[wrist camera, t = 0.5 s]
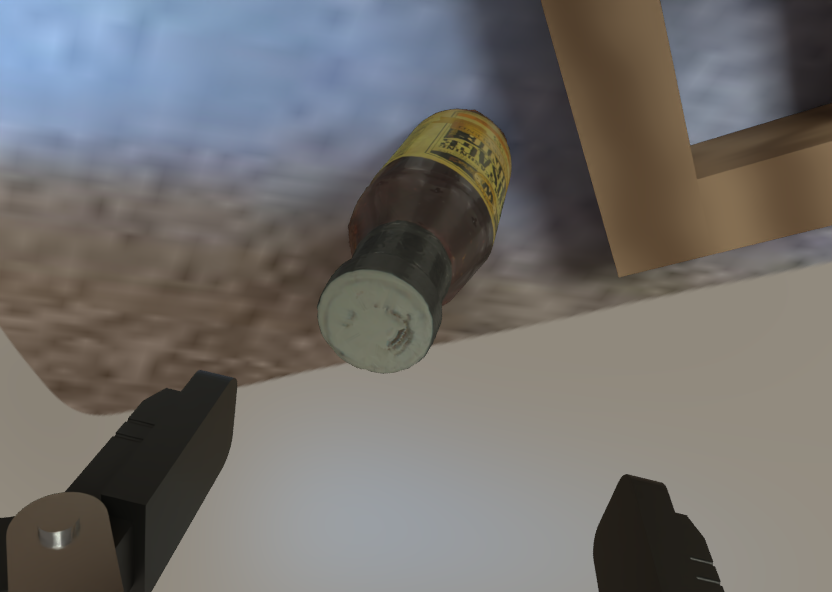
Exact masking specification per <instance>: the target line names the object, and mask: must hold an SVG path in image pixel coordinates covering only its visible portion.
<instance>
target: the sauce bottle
mask: <svg viewBox="0 0 832 592" xmlns="http://www.w3.org/2000/svg"><path fill="white" fill-rule="evenodd" d="M510 176H511V156H510V151H509V147H508V145H507V140H506V138H505V135H504V133H502V131H501V130H500V129H499V128H498V127H497V126H496V125H495V124H494V123H493V121H491V120H490V119H488V118H487V117H485V116H484V115H483V114H482V113H480V112H478V111H476V110H467V109H450V110H445V111H441V112H438V113H435V114H433V115H432V116H430V117H428V118H427V119H425V120H424V121H422V122H421V123H420V124H419V125H418V126H417V127H416V128H415V129H414V130H413V132H412V133H411V134H410V135H409V136H408V138H407V139H406V140H405V141H404V143H403V144H402V145H401V146H400V148H399V149H398V150H397V151H396V152H395V154H394V155H393V156H392V157H391V158H390V159H389V160H388V162H387V163H386V164H385V165H384V166H383V167H382V169H381V170H380V171H379V172H378V173H377V174H376V176H375V177H374V178H373V180H372V182H371V183H370V185H369V186H368V187H367V188H366V190H365V191H364V193H363V194H362V196H361V197H360V199H359V200H358V202H357V204H356V206H355V208H354V211H353V214H352V217H351V219H350V223H349V225H348V229H349V243H350V249H351V253H352V259H350V260H348V261H347V262H345V263H344V264H342V265H341V266H340V267H339V268H338V269H337V270H336V271H335V273H334V274H333V275H332V276H331V278H330V280H329V281H328V283H327V284H326V287H325V288H324V290H323V292H322V294H321V296H320V299H319V302H318V305H317V309H318V316H317V317H318V323H319V327H320V330H321V333H322V335H323V337H324V339H325V340H326V342H327V343H328V344H329V345H330V346H331V347H332V349H333V350H334V351H335V353H336V354H337V355H338V356H339V357H340V358H341V359H343V360H344V361H346V362H347V363H349V364H351V365H352V366H354V367H357V368H360V369H366V370H368V371H371V372H376V373H383V374H384V373H394V372H398V371H400V370H404V369H408V368H410V367H411V366H412V365H414V364H416V363H417V362H419V361H420V360H421V359H422V358H423V357H425V355H426V354H427V352H428V350H429V349H430V347H431V345H432V344H433V341H434V339H435V337H436V334H437V332H438V329H439V327H440V324H441V320H442V306H443V305H445V304H447V303H448V302H450V301H451V300H452V299H453V298H454V297H455V295H456V294H457V293H458V292H459V291H460V290H461V288H462V287H463V286H464V285H465V284H466V283H467V282H468V281H469V279H470V278H471V277H472V276H473V275H474V274H475V273H476V271H477V270H478V269H479V268H480V267H481V266H482V264H483V263H484V262H485V261H486V260H487V258H488V257H489V255H490V253H491V250H492V247H493V243H494V240H495V236H496V232H497V228H498V223H499V220H500V217H501V211H502V208H503V204H504V200H505V196H506V192H507V188H508V185H509V181H510Z"/></svg>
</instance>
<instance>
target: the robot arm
mask: <svg viewBox="0 0 832 592" xmlns="http://www.w3.org/2000/svg"><path fill="white" fill-rule="evenodd" d="M236 393H237V380H236V379H235V378H231V377H227V376H223V375H219V374H215V373H211V372H207V371H202V370H199V371H197V372H196V373H195V375H194V376H193V377H192V378H191V380H190V381H189V382H188V383H187V385H186V386H185V387H184V389H183V390H182V391H177V390H172V389H168V388H165V389H164V390H162V391H160V392H158V393H156V394H155V395H153V396H151V397H149V398H147V399H146V400H144V401H143V402H142V403H141V404H140V405H139V406H138V407H137V409H136V410H135V411H134V412H133V413H132V414H131V416H130V417H129V418H128V421H127V422H125V423H124V424H123V425H122V426H121V427H120V428H119V430H118V431H117V432H116V435H115V437H112V438H111V439H110V440H109V441H108V443H107V444H106V445H105V446H104V447H103V448H102V449H101V451H100V452H99V453H98V454H97V455H96V456H95V458H94V459H93V460H92V461H91V462H90V463H89V465H88V466H87V467H86V468H85V469H84V470H83V471H82V473H81V474H80V475H79V476H78V477H77V479H76V480H75V481H74V482H73V483H72V484H71V485H70V487H69V488H68V489H67V490H66V491H65V492H62V493H56V494H52V495H48V496H45V497H43V498H40V499H38V500H36V501H34V502H32V503H30V504H29V505H27V506H26V507H24V508H23V509H22V510H21V511H20V512H18V514H16V516H14V517H6V518H0V592H151V591H152V590H153V588H154V586H155V585H156V583H157V581H158V579H159V577H160V576H161V574H162V572H163V571H164V569H165V567H166V565H167V564H168V562H169V560H170V558H171V557H172V555H173V553H174V551H175V550H176V548H177V546H178V544H179V543H180V541H181V539H182V538H183V536H184V534H185V532H186V531H187V529H188V527H189V525H190V523H191V522H192V520H193V518H194V517H195V515H196V513H197V511H198V510H199V508H200V506H201V504H202V503H203V501H204V499H205V497H206V495H207V494H208V492H209V490H210V489H211V487H212V485H213V484H214V482H215V480H216V478H217V476H218V475H219V473H220V471H221V470H222V468H223V466H224V464H225V461H226V459H227V456H228V453H229V450H230V447H231V442H232V436H233V426H234V414H235V404H236ZM593 558H594V565H595V571H596V576H597V583H598V588H599V592H724V590H723V587H722V586H720V579H719V576H718V573H717V571H716V568H715V566H713V560H712V557H711V555H710V552H709V549H708V546H707V544H706V541H705V538H704V537H703V536H702V535H701V533H700V532H699V531H698V529H697V528H696V527H695V526H694V524H693V523H692V522H691V520H690V519H689V518H688V517H687V515H683V514H679V513H675V511H674V508H673V505H672V502H671V499H670V496H669V493H668V490H667V488H666V486H665V485H664V484H663V483H661V482H657V481H653V480H649V479H645V478H641V477H636V476H632V475H628V474H626V475H623V476H622V477H621V479H620V481H619V482H618V484H617V486H616V489H615V491H614V493H613V495H612V497H611V499H610V502H609V504H608V506H607V508H606V510H605V512H604V514H603V516H602V519H601V521H600V523H599V525H598V527H597V530H596V534H595V538H594V546H593Z"/></svg>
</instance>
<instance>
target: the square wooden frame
mask: <svg viewBox="0 0 832 592" xmlns="http://www.w3.org/2000/svg"><path fill="white" fill-rule="evenodd" d="M541 3H542V7H543V10H544V14H545V17H546V21H547V25H548V28H549V32H550V35H551V39H552V42H553V46H554V49H555V53H556V56H557V60H558V64H559V67H560V71H561V74H562V78H563V81H564V85H565V88H566V92H567V95H568V99H569V103H570V106H571V110H572V113H573V117H574V120H575V124H576V127H577V131H578V134H579V138H580V142H581V145H582V149H583V152H584V156H585V159H586V163H587V166H588V170H589V173H590V177H591V181H592V184H593V188H594V191H595V195H596V198H597V202H598V205H599V209H600V212H601V216H602V219H603V223H604V227H605V230H606V234H607V237H608V241H609V244H610V248H611V251H612V255H613V258H614V262H615V266H616V269H617V273H618V276H619V277H622V276H627V275H631V274H635V273H639V272H643V271H647V270H651V269H655V268H659V267H663V266H667V265H671V264H676V263H680V262H684V261H688V260H692V259H696V258H700V257H704V256H708V255H712V254H716V253H720V252H725V251H729V250H733V249H737V248H741V247H745V246H749V245H753V244H757V243H761V242H765V241H769V240H774V239H778V238H782V237H786V236H790V235H794V234H798V233H802V232H806V231H810V230H814V229H818V228H823V227H827V226H831V225H832V103H830V104H826V105H823V106H820V107H817V108H813V109H810V110H807V111H803V112H800V113H797V114H793V115H790V116H787V117H783V118H780V119H777V120H773V121H770V122H767V123H764V124H760V125H757V126H754V127H750V128H747V129H744V130H740V131H737V132H734V133H730V134H727V135H724V136H721V137H717V138H714V139H711V140H707V141H704V142H701V143H697V144H694V145H691V146H690V143H689V138H688V133H687V128H686V123H685V119H684V114H683V109H682V104H681V99H680V95H679V90H678V85H677V80H676V75H675V70H674V66H673V61H672V56H671V51H670V46H669V41H668V37H667V32H666V27H665V22H664V17H663V12H662V8H661V3H660V0H541Z"/></svg>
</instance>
